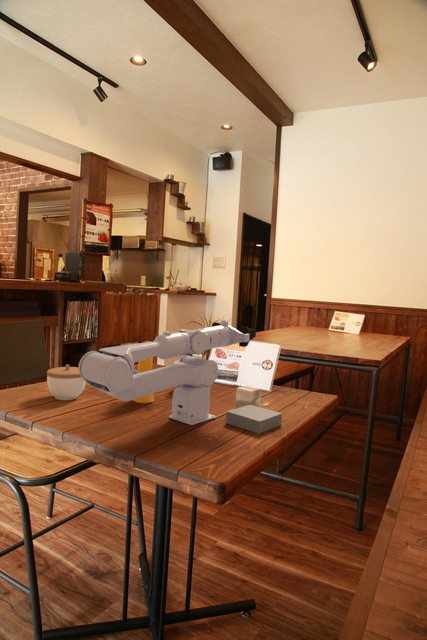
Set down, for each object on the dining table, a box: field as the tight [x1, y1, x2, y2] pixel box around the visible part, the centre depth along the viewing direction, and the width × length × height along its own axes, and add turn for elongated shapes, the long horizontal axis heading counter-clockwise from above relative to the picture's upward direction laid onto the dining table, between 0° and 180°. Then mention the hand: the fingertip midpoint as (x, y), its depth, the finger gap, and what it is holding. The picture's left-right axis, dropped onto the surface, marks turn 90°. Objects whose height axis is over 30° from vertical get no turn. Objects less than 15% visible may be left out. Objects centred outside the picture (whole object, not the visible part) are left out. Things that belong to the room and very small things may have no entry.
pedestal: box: [225, 405, 283, 435], centre depth 105 cm, size 10×10×3 cm
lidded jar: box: [46, 364, 87, 401], centre depth 119 cm, size 11×11×9 cm
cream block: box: [234, 385, 262, 409], centre depth 118 cm, size 5×5×6 cm
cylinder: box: [132, 357, 155, 404], centre depth 120 cm, size 12×10×15 cm
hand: (243, 331), depth 120 cm, fingers open, 7 cm apart
